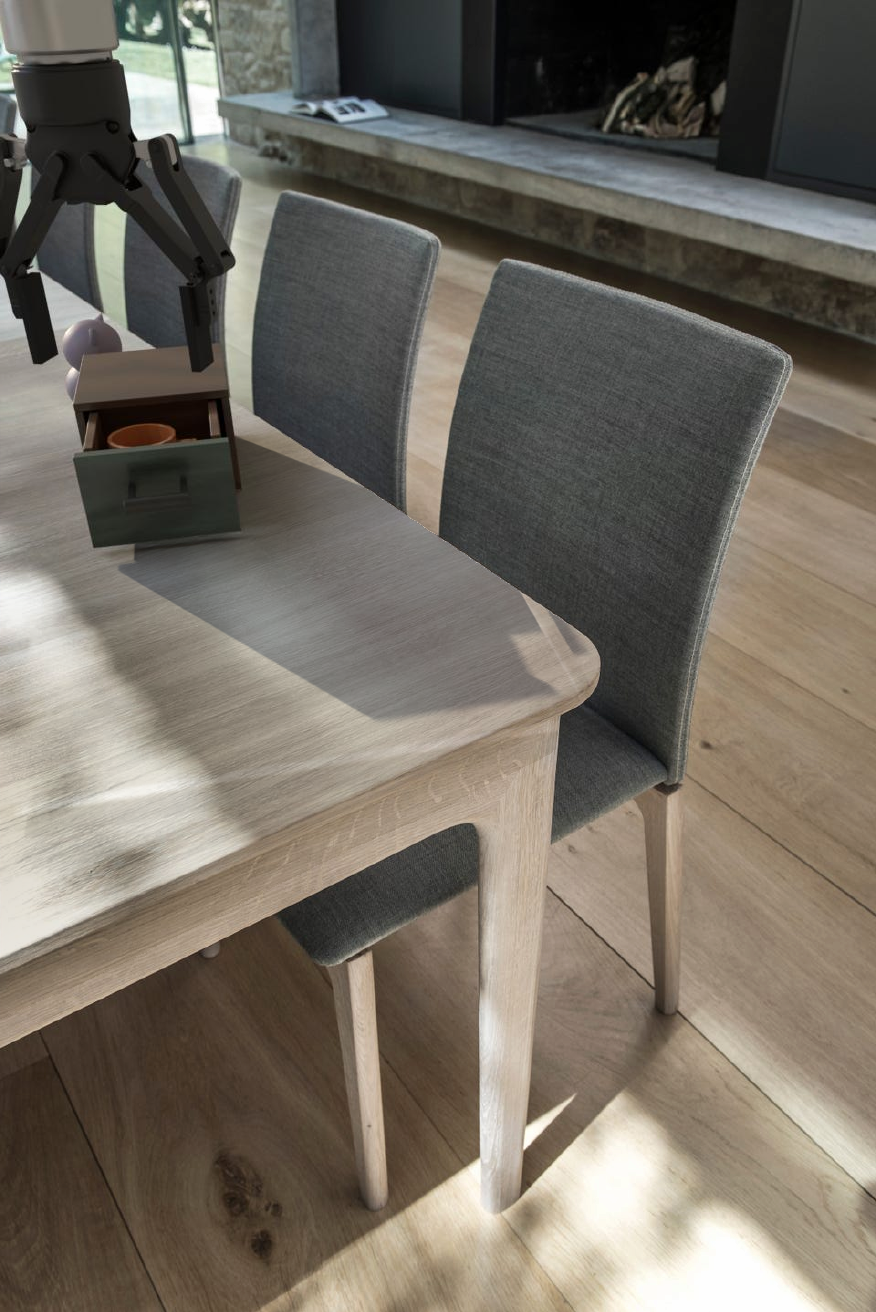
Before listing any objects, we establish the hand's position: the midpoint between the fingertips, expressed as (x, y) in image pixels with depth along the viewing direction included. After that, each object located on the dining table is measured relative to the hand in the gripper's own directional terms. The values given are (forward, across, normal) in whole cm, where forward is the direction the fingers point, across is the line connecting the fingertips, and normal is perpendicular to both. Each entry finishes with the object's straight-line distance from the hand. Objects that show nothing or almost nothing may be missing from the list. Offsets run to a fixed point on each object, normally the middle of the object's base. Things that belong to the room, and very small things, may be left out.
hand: (123, 363), depth 84 cm
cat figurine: (+19, +22, -33) cm, 44 cm away
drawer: (+18, +3, -8) cm, 20 cm away
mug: (+16, +5, -10) cm, 20 cm away
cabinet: (+18, +9, -21) cm, 29 cm away
